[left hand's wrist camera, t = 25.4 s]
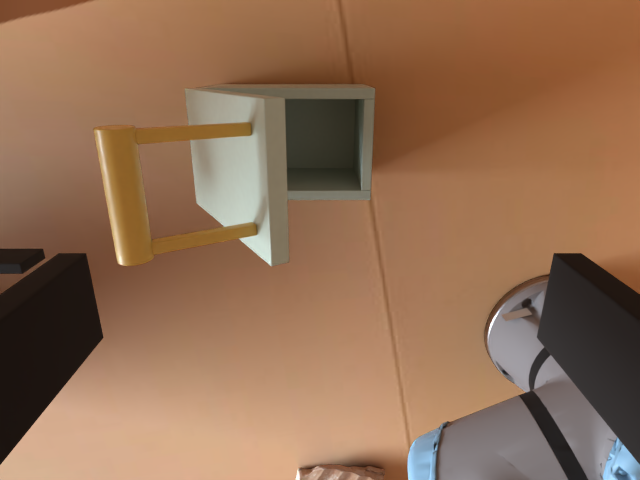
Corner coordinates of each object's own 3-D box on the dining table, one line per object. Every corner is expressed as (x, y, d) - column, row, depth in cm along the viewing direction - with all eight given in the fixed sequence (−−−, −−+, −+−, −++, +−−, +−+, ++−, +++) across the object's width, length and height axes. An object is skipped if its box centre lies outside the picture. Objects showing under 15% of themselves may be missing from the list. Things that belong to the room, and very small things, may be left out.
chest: (363, 84, 45) (375, 87, 36) (360, 174, 49) (370, 200, 39) (221, 84, 45) (194, 87, 36) (227, 174, 49) (205, 200, 39)
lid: (285, 97, 23) (92, 104, 19) (289, 262, 26) (127, 300, 22) (199, 87, 35) (71, 90, 31) (210, 201, 39) (96, 217, 34)
